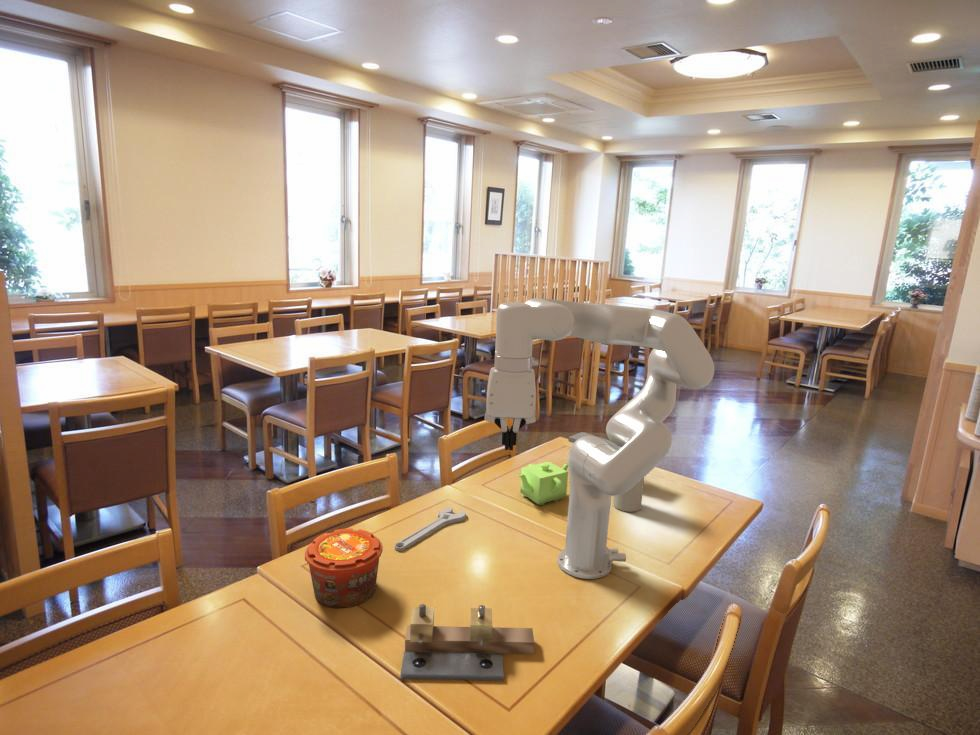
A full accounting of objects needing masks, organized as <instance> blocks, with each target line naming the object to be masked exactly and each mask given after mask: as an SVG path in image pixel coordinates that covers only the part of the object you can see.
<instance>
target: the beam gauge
mask: <svg viewBox="0 0 980 735" xmlns="http://www.w3.org/2000/svg"><path fill="white" fill-rule="evenodd" d="M411 611H412V613H411V618H410V625H407V627H406V632H405V639H404V652H449V653H502V654H512V655H513V654H515V655H517V654H521V655H523V654H524V655H525V654H526V655H534V652H535V637H534V630H533V627H499V626H498V627H497V626H495V627H493V626H492V642H483V646H480V643H479V642H470V626H451V625H450V626H446V625H444V626H442V625H441V626H439V625H438V626H437V625H435V607H434V606H427V605H426V604H425V603H421V604H419V605H418V606H412V610H411Z"/></svg>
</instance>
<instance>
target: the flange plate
mask: <svg viewBox="0 0 980 735" xmlns="http://www.w3.org/2000/svg"><path fill="white" fill-rule="evenodd" d="M503 661H504V660H503V653H456V652H405V651H403V658H402V662H401V668H400V674H399V675H400V680H405V679H406V680H450V681H452V680H454V681H455V680H456V681H459V680H460V681H466V680H467V681H504V663H503Z"/></svg>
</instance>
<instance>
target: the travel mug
mask: <svg viewBox="0 0 980 735" xmlns="http://www.w3.org/2000/svg"><path fill="white" fill-rule="evenodd" d="M619 449H620V447H619ZM644 481H645V477H644V478H643V479H642V480H641V481H639V482H638V483H637V484H636V485H635V486H634V487H633V488H632V489H630V490H629V491H628V492H626V493H624V494H622V495H619V496H612V497H613V498H612V505H613V507H615V508H616V509H617V510H620V511H623V512H628V513H630V512H631V513H634V512H638V511H640V510H641V509H642V501H643V500H642V499H643V493H644V492H643V491H644V484H645V482H644Z"/></svg>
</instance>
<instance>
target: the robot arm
mask: <svg viewBox="0 0 980 735" xmlns="http://www.w3.org/2000/svg"><path fill="white" fill-rule="evenodd" d="M568 336H571V337H576V338H580V339H583V340H585V341H588V342H593V343H597V344H603V345H614V346H615V345H616V346H617V345H620V346H621V345H622V346H635V347H647V348H651V349H652V350H651V351H650V353H649V356H648V360H647V376H646V381H645V383H644V386H643V387H642V388H641V389H640V390H639V392H638V393H637V394H636V395H635V396H634V397H633V398H631V400H629V401H627V403H626V404H625V405H624V406H622V408H619V410H618V411H617V412H616V413H615V414H613V415H612V417H611V418H609V420H608V422H607V423H606V427H605V432H606V435H607V437H608V440H610V441H612V442H613V443H615V444H616V445H617V446H619V447H620V449H619V450H618V449H616V448H615V447H613V446H612V445H610V444H608V443H607V442H605V441H603V440H602V439H599V438H597V437H598V436H597V437H594V436H595V435H594V436H584V437H581V438H579V439H577V440H576V441H575V442H574V443H572V445H571V446H570V449H569V451H568V456H567V457H568V459H567V463H568V477H569V494H568V495H569V497H568V498H569V499H568V507H567V508H568V509H567V519H566V521H567V522H566V533H565V534H566V535H565V544H564V545H565V547H564V549H562V550H561V551H560V552H559V553H558V555H557V563H558V566H559V568H560V569H561V570H562V571H563V572H565V573H567V574H568V575H570V576H571V577H572V576H573V577H576V578H578V579H584V580H585V579H586V580H595V579H600V578H604V577H605V576H607V575H608V574H609V573H610V572H611V570H612V563H613V562H626V561H627V555H626V552H619V549H618V548H609V547H608V546H607V544H608V534H609V524H610V521H609V520H610V512H611V503H612V502H611V501H612V497H614V496H619V495H622V494H624V493H626V492H628V491H629V490H630V489H632V488H633V487H634V486H635V485H636V484H637V483H638V482H639V481H641V480H642V479H643V478H644V479H645V477H646V476H647V475H648V474H649V473H651V472H652V470H654V469H655V468H656V467H657V466H658V465H659V464H660V463H661V462H662V461H663V460H664V459H665V458H666V456H667V454H668V453H669V451H670V448H671V445H672V440H673V439H672V433H671V430H670V429H669V427H668V426H667V424H665V423H664V421H665V420H666V419H667V418H668V417H669V416H670V414H671V413H672V412H673V410H674V408H675V405H676V400H677V386H681V387H682V388H683V387H684V388H685V389H689V390H700V389H703V388H706V387H707V386H708V385H709V384H710V383H711V382H712V380H713V378H714V375H715V363H714V360H713V358H712V356H711V354H710V352H709V351H708V350H707V348H706V347H705V344H704V343H703V342H702V340H701V338H700V337H699V335H698V334H697V333H696V331H695V329H694V328H693V326H692V325H691V324H690V323H689V322H688V320H686V318H684V317H683V316H682V315H680V314H678V313H673V312H668V311H663V310H659V309H657V308H655V309H654V308H649V307H639V306H625V305H616V304H606V303H605V304H604V303H595V302H594V303H593V302H581V301H572V300H571V301H569V300H561V299H553V298H552V299H551V298H542V297H541V298H539V297H533V298H531V299H528V300H526V301H524V302H515V301H511V302H509V301H508V302H502V303H500V304H499V305H498V306H497V309H496V324H495V342H494V343H495V345H494V346H495V347H494V348H495V349H494V350H495V351H494V365H493V366H494V367H491V368H490V369H489V374H488V379H487V388H486V399H485V401H486V402H485V403H486V404H485V406H486V411H485V415H484V421H485V422H489V423H492V424H495V426H497V427H498V428H499V429H500V430H501V445H502V446H504V450H505V451H514V446H517V435H518V432H519V430H520V429H522V427H524V426H525V425H529V424H533V423H536V422H537V419H536V418H537V417H536V408H537V407H536V406H537V404H536V401H537V400H536V399H537V398H536V397H537V392H536V390H537V389H536V374H535V370H534V368H533V367H535V366H539V364H540V362H539V358H535V357H533V342H534V341H533V340H534V339H535V340H536V339H537V340H545V341H551V342H552V341H556V342H557V341H560V340H563V339H565V338H567V337H568ZM507 419H513V420H512V424H511V425H510V428H509V426H508V424H507Z"/></svg>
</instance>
